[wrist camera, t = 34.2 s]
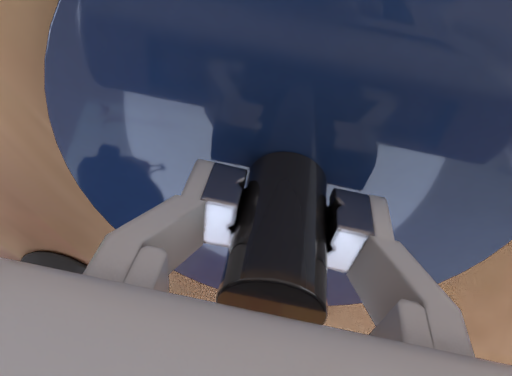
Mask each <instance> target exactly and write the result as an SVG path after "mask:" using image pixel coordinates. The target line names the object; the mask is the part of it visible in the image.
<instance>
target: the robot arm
mask: <svg viewBox="0 0 512 376" xmlns="http://www.w3.org/2000/svg"><path fill="white" fill-rule="evenodd" d="M246 177H247V170H246V169H242V168H238V167H233V166H229V165H225V164H221V163H216V162H215V163H214V162H211V161H206V160H202V159H198V160H197V161H196V162H195V164H194V167H193V169H192V171H191V173H190V176H189V178H188V180H187V183H186V185H185V187H184V189H183V192H182V194H181V196H180V195H174V196H173V197H171V198H169V199H167V200H166V201H164V202H162V203H161V204H159V205H157V206H155V207H154V208H152V209H150V210H148V211H147V212H145V213H143V214H141V215H140V216H138V217H136V218H135V219H133V220H131V221H129V222H128V223H126V224H124V225H122V226H121V227H119V228H117V229H115V230H114V231H112V232H110V233H109V234H107V235H106V236H105V238H104V239H103V241H102V243H101V244H100V246H99V247H98V249H97V251H96V252H95V254H94V256H93V257H92V259H91V261H90V262H89V264H88V266H87V267H86V269H85V271H84V272H83V274H78V273H73V272H69V271H64V270H59V269H54V268H50V267H45V266H40V265H36V264H31V263H26V262H21V261H17V260H12V259H7V258H3V257H0V376H512V365H508V364H504V363H499V362H494V361H489V360H485V359H480V358H475V355H474V352H473V348H472V345H471V342H470V339H469V335H468V332H467V329H466V326H465V322H464V319H463V316H462V312H461V310H460V309H459V308H458V306H457V305H456V304H455V303H454V302H453V301H452V300H451V299H450V298H449V296H448V295H447V294H446V293H445V292H444V291H443V290H442V289H441V287H440V286H439V285H438V284H437V283H436V282H435V281H434V280H433V278H432V277H431V276H430V275H429V274H428V273H427V272H426V271H425V269H424V268H423V267H422V266H421V265H420V264H419V263H418V262H417V260H416V259H415V258H414V257H413V256H412V255H411V254H410V253H409V252H408V250H407V249H406V248H405V247H404V246H403V245H402V244H401V243H400V242H399V241H395V240H394V234H393V229H392V224H391V219H390V214H389V209H388V204H387V200H386V199H385V197H379V196H374V195H369V194H368V195H366V194H362V193H357V192H352V191H347V190H342V189H337V188H334V189H333V190H332V192H331V195H330V197H329V205H328V206H327V235H328V269H330V270H334V271H339V272H343V273H347V274H346V275H347V277H348V279H349V280H350V282H351V284H352V286H353V287H354V289H355V291H356V293H357V294H358V296H359V298H360V300H361V301H362V303H363V305H364V307H365V308H366V310H367V312H368V314H369V315H370V317H371V319H372V321H373V322H374V324H375V326H376V327H375V328H374V329H373V331H372V332H371V333H370V334H369V335H366V334H362V333H357V332H352V331H347V330H343V329H338V328H333V327H328V326H324V325H319V324H314V323H309V322H305V321H300V320H295V319H290V318H286V317H281V316H276V315H272V314H267V313H262V312H257V311H253V310H248V309H243V308H239V307H234V306H229V305H224V304H220V303H215V302H210V301H206V300H201V299H196V298H191V297H187V296H182V295H177V294H172V293H169V278H168V275H169V274H170V273H171V272H172V271H173V270H174V269H176V268H177V267H178V266H179V265H180V264H181V263H182V262H184V261H185V260H186V259H187V258H188V257H189V256H190V255H192V254H193V253H194V252H195V251H196V250H197V249H198V248H200V247H201V246H202V245H203V243H205V244H210V245H216V246H221V247H227V248H229V244H230V240H231V236H232V232H233V228H234V224H235V222H236V218H237V214H238V210H239V206H240V201H241V197H242V195H243V190H244V186H245V182H246Z"/></svg>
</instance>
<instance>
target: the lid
mask: <svg viewBox="0 0 512 376" xmlns="http://www.w3.org/2000/svg"><path fill="white" fill-rule="evenodd" d="M45 95H46V102H47V108H48V115H49V119H50V123H51V126H52V129H53V133H54V136H55V139H56V143H57V145H58V147H59V150H60V152H61V154H62V156H63V159H64V161H65V163H66V165H67V167H68V169H69V171H70V172H71V174H72V176H73V177H74V179H75V181H76V182H77V184H78V186H79V187H80V189H81V190H82V191H83V193H84V194H85V195H86V197H87V198H88V199H89V201H90V202H91V203H92V205H93V206H94V207H95V208H96V209H97V211H98V212H99V213H100V214H101V215H102V216H103V217H104V218H105V219H106V220H107V221H108V223H109V224H110V225H112V226H113V227H114V228H115V229H117V228H119V227H121V226H122V225H124V224H126V223H128V222H129V221H131V220H133V219H135V218H136V217H138V216H140V215H141V214H143V213H145V212H147V211H148V210H150V209H152V208H154V207H155V206H157V205H159V204H161V203H162V202H164V201H166V200H167V199H169V198H171V197H173V196H174V195H180V196H181V194H182V192H183V189H184V187H185V185H186V183H187V180H188V178H189V176H190V173H191V171H192V169H193V167H194V164H195V162H196V161H197V160H198V159H202V160H206V161H211V162H214V163H215V162H216V163H221V164H225V165H229V166H233V167H238V168H242V169H246V170H247V177H246V182H245V186H244V190H243V195H242V197H241V201H240V206H239V210H238V214H237V218H236V222H235V224H234V228H233V232H232V236H231V240H230V244H229V248H227V247H221V246H216V245H210V244H205V243H203V245H202V246H201V247H200V248H198V249H197V250H196V251H195V252H194V253H193V254H192V255H190V256H189V257H188V258H187V259H186V260H185V261H184V262H182V263H181V264H180V265H179V266H178V267H177V268H176V269H174V271H176V272H178V273H180V274H182V275H184V276H186V277H189V278H191V279H193V280H195V281H197V282H200V283H202V284H205V285H208V286H210V287H213V288H216V289H218V291H217V295H216V303H220V304H224V305H229V306H234V307H239V308H243V309H248V310H253V311H257V312H262V313H267V314H272V315H276V316H281V317H286V318H290V319H295V320H300V321H305V322H309V323H314V324H319V325H323V324H324V323H325V321H326V319H327V316H328V306H334V305H350V304H359V303H362V301H361V300H360V298H359V296H358V294H357V293H356V291H355V289H354V287H353V286H352V284H351V282H350V280H349V279H348V277H347V275H346V274H347V273H343V272H339V271H334V270H330V269H328V235H327V206H328V205H329V197H330V195H331V192H332V190H333V189H334V188H337V189H342V190H347V191H352V192H357V193H362V194H366V195H368V194H369V195H374V196H379V197H385V199H386V200H387V204H388V209H389V214H390V219H391V224H392V229H393V234H394V240H395V241H399V242H400V243H401V244H402V245H403V246H404V247H405V248H406V249H407V250H408V252H409V253H410V254H411V255H412V256H413V257H414V258H415V259H416V260H417V262H418V263H419V264H420V265H421V266H422V267H423V268H424V269H425V271H426V272H427V273H428V274H429V275H430V276H431V277H432V278H433V280H434V281H435V282H436V283H437V284H438V283H441V282H443V281H445V280H447V279H449V278H452V277H454V276H456V275H458V274H460V273H462V272H464V271H466V270H468V269H469V268H471V267H473V266H475V265H476V264H478V263H480V262H482V261H483V260H485V259H487V258H488V257H489V256H491V255H492V254H494V253H495V252H496V251H498V250H499V249H501V248H502V247H503V246H505V245H506V244H508V243H509V242H510V241H511V240H512V0H59V1H58V4H57V7H56V10H55V13H54V16H53V19H52V21H51V24H50V29H49V35H48V41H47V47H46V53H45Z"/></svg>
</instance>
